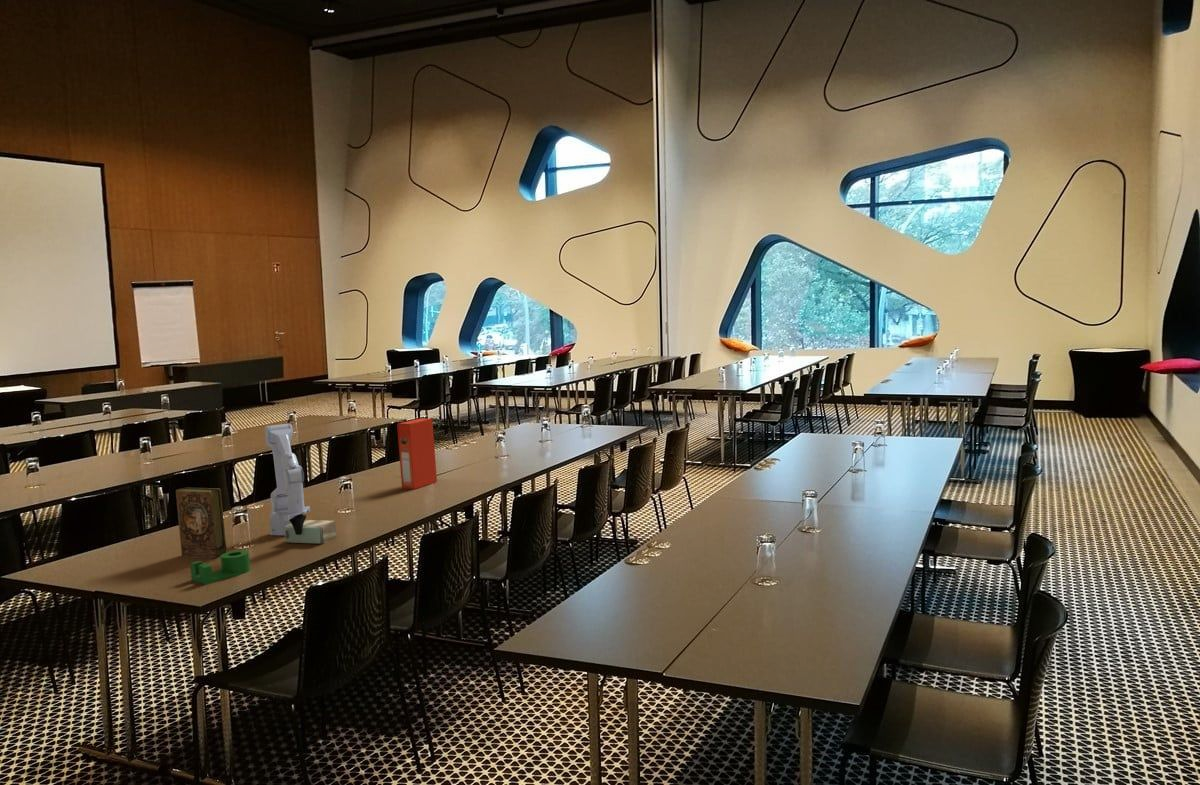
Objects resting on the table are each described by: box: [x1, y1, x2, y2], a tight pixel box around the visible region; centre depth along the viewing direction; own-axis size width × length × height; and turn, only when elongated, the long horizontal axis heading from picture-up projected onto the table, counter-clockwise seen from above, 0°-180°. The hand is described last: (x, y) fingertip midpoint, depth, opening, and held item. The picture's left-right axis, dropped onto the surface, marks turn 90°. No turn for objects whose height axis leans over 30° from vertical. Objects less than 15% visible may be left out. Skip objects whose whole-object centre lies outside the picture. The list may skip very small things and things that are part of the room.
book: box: [175, 487, 227, 559], centre depth 327 cm, size 16×6×25 cm, turn 74°
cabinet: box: [287, 519, 337, 545], centre depth 343 cm, size 16×9×6 cm, turn 75°
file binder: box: [396, 418, 438, 490], centre depth 434 cm, size 8×17×32 cm, turn 152°
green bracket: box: [190, 549, 251, 586], centre depth 303 cm, size 18×9×6 cm, turn 142°
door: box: [285, 526, 323, 544], centre depth 338 cm, size 16×2×6 cm, turn 75°
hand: (298, 534), depth 337 cm, fingers closed
